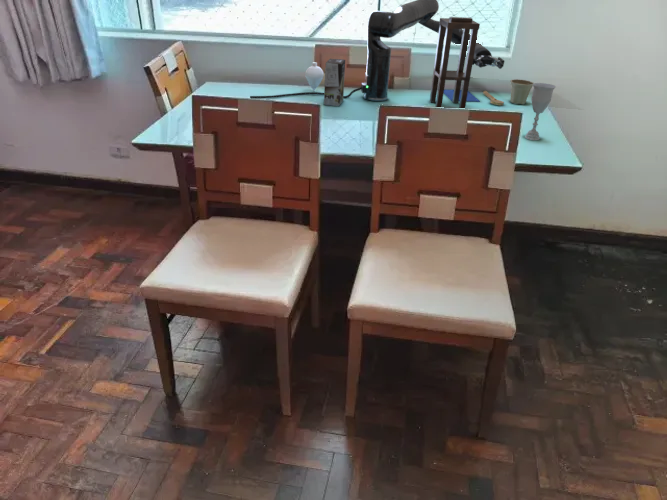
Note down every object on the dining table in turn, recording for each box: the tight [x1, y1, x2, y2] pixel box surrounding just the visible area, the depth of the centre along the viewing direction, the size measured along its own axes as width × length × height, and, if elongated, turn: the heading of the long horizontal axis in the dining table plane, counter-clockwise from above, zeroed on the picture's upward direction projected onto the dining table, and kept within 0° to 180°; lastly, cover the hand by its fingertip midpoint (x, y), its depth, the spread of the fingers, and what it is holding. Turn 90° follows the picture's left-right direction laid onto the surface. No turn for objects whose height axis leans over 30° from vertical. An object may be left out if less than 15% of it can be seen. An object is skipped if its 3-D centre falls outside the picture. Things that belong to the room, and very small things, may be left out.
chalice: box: [524, 82, 556, 141], centre depth 189 cm, size 7×7×18 cm
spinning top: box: [304, 61, 325, 92], centre depth 231 cm, size 8×8×12 cm
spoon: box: [482, 90, 505, 107], centre depth 236 cm, size 18×6×5 cm, turn 3°
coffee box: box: [323, 58, 346, 107], centre depth 217 cm, size 9×6×16 cm
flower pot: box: [509, 78, 535, 105], centre depth 232 cm, size 9×9×9 cm
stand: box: [429, 16, 481, 109], centre depth 217 cm, size 12×12×33 cm
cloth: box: [443, 89, 480, 103], centre depth 240 cm, size 12×18×1 cm, turn 5°
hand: (491, 65), depth 235 cm, fingers open, 8 cm apart
